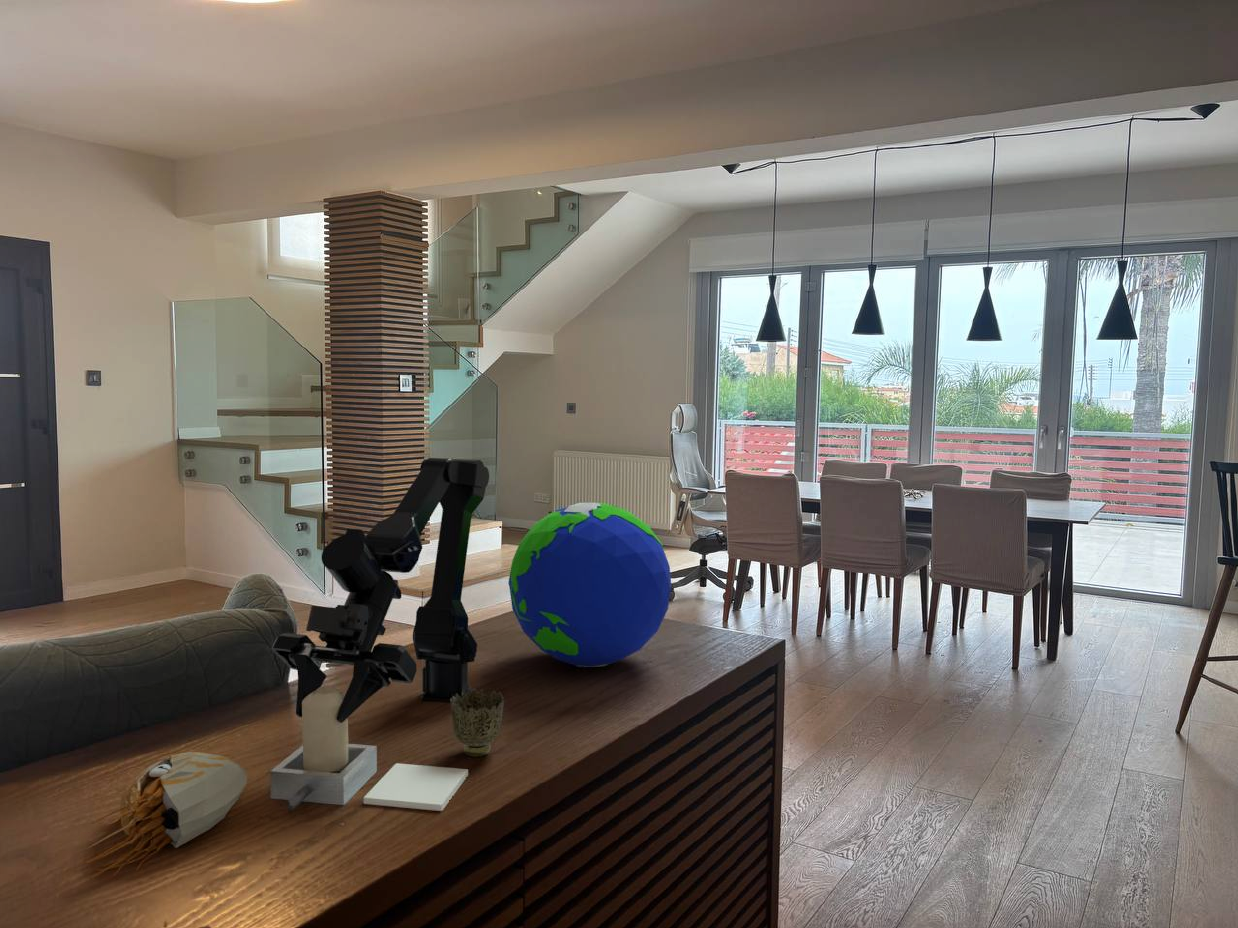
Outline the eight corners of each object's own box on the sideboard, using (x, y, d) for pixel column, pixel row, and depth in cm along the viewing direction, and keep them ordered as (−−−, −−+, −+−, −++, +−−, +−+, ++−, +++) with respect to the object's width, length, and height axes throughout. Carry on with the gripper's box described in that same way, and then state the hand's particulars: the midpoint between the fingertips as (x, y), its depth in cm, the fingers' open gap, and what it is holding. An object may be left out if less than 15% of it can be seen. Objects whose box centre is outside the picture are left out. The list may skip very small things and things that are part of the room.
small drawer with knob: (376, 771, 119) (376, 745, 119) (328, 820, 105) (327, 792, 105) (309, 765, 120) (308, 740, 120) (252, 813, 107) (252, 785, 107)
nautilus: (132, 907, 89) (25, 883, 94) (282, 800, 109) (187, 785, 114) (121, 832, 88) (14, 812, 93) (275, 738, 108) (179, 726, 113)
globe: (704, 668, 164) (708, 505, 161) (574, 704, 144) (576, 520, 142) (601, 631, 186) (603, 488, 183) (477, 658, 167) (477, 499, 164)
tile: (468, 775, 118) (468, 769, 118) (441, 810, 108) (441, 804, 108) (396, 768, 120) (396, 763, 120) (363, 803, 110) (363, 797, 110)
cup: (513, 746, 127) (513, 692, 127) (489, 767, 121) (489, 710, 120) (466, 739, 130) (466, 685, 129) (440, 759, 123) (440, 702, 122)
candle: (309, 755, 117) (307, 681, 116) (352, 754, 118) (351, 681, 117) (298, 774, 112) (296, 696, 111) (343, 773, 112) (341, 696, 111)
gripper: (278, 573, 119) (223, 681, 109) (404, 584, 114) (358, 699, 104) (315, 615, 127) (267, 719, 118) (434, 628, 122) (393, 737, 113)
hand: (318, 718), depth 113 cm, fingers closed on candle, 5 cm apart
